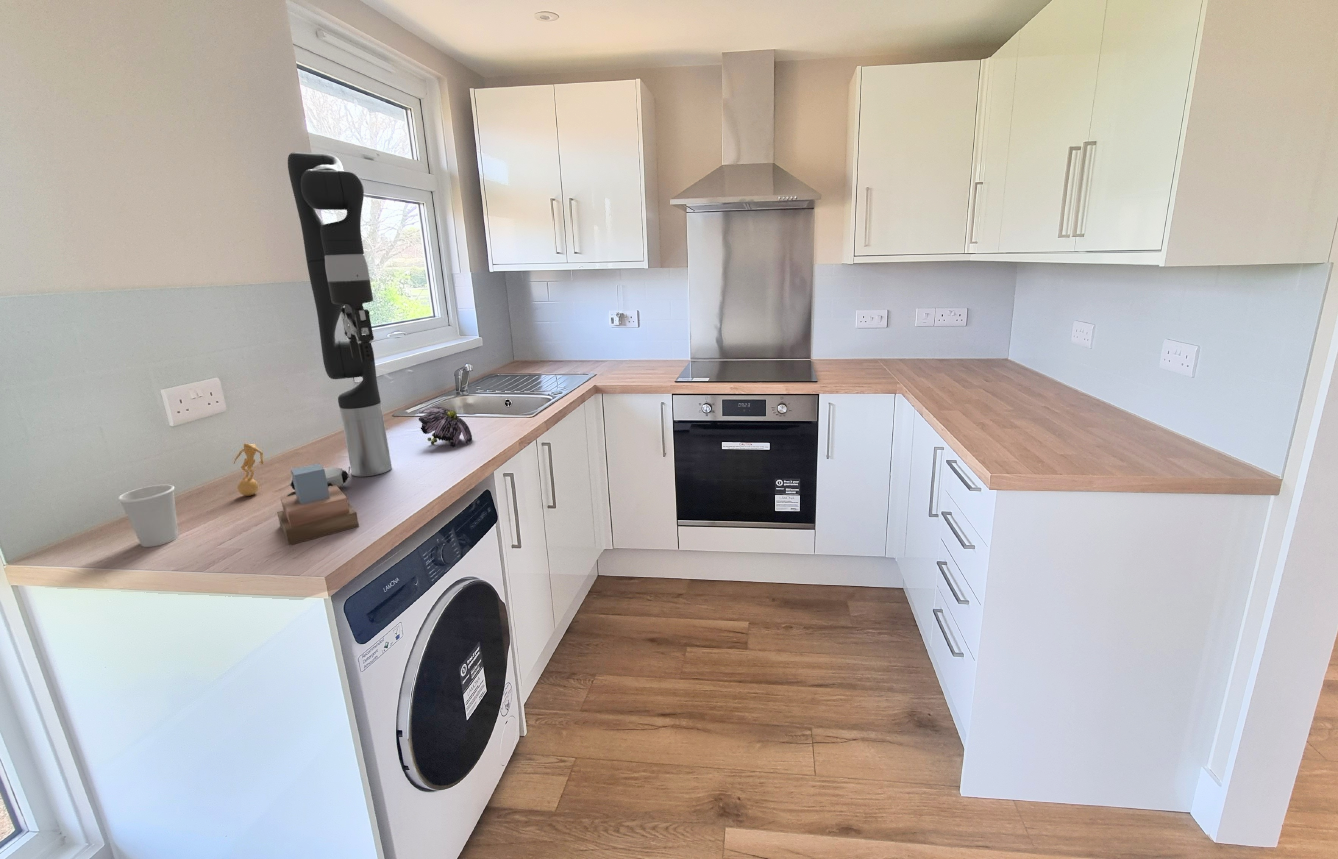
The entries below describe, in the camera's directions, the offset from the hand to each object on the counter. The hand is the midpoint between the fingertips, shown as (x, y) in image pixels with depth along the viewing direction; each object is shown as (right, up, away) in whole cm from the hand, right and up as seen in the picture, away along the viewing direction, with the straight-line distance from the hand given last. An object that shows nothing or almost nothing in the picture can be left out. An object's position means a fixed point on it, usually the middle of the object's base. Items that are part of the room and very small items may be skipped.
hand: (363, 359), depth 126 cm
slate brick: (-7, -28, -6) cm, 29 cm away
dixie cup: (-36, -36, -7) cm, 51 cm away
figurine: (-33, -29, +16) cm, 47 cm away
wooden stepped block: (-7, -34, -4) cm, 35 cm away
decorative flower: (-1, -19, +51) cm, 54 cm away
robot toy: (-16, -30, +13) cm, 37 cm away
